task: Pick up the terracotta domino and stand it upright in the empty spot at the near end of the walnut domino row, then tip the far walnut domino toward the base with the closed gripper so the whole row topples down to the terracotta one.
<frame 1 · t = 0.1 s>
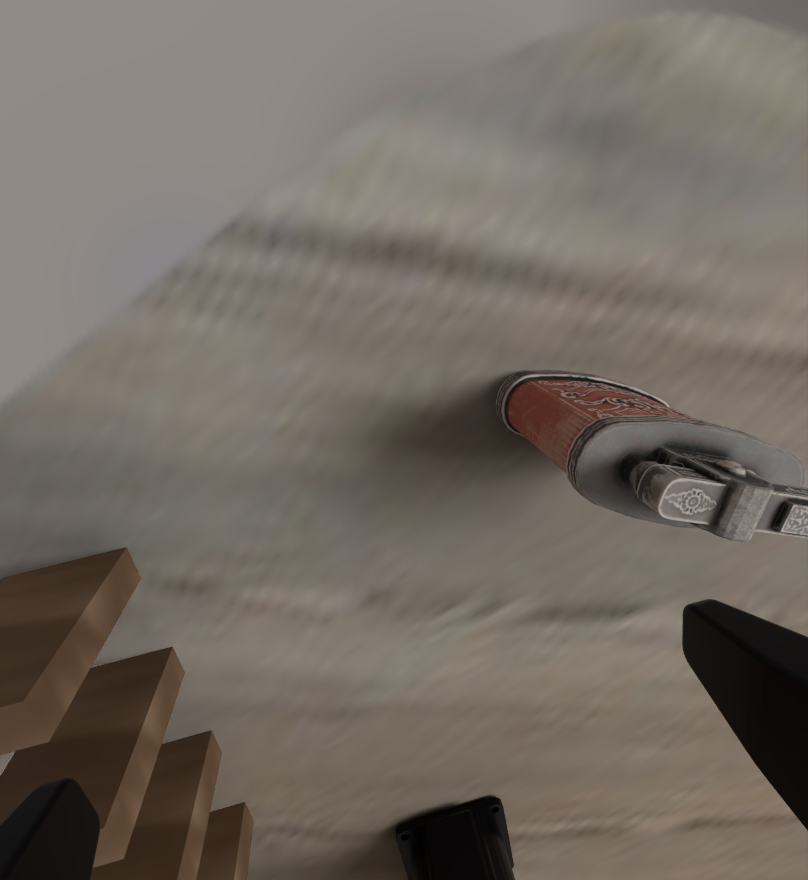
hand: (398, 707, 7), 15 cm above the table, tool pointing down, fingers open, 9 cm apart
domino 4: (203, 825, 27), on the table
domino 1: (74, 577, 22), on the table
domino 3: (167, 755, 25), on the table
lighter: (578, 409, 23), on the table
domino 2: (124, 674, 23), on the table
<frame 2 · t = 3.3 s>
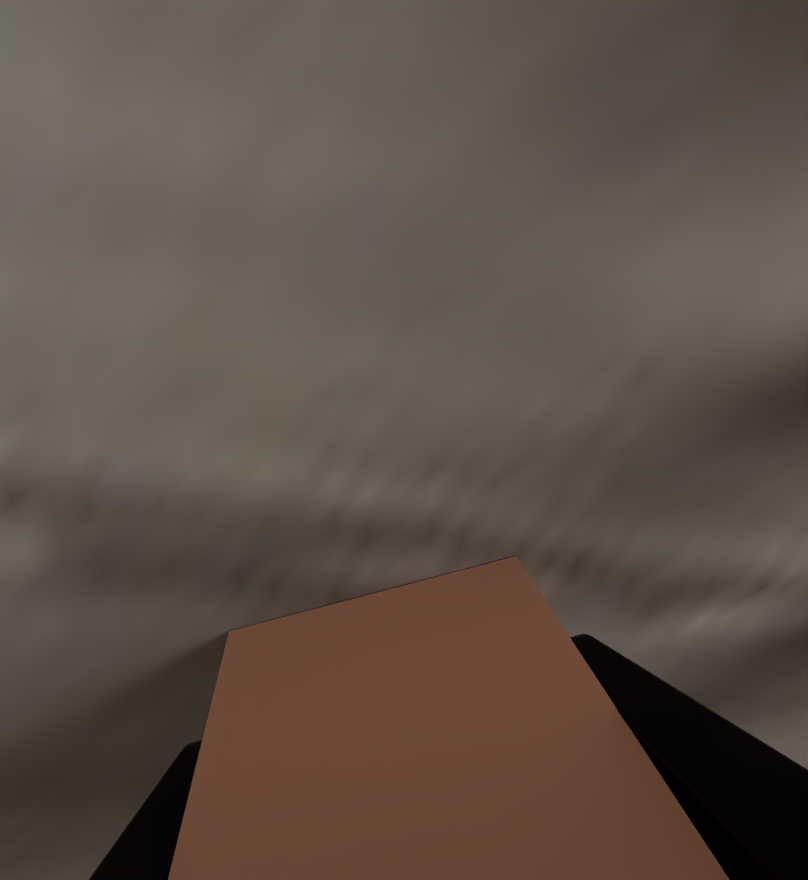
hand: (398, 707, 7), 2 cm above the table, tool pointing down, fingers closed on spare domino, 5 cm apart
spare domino: (385, 629, 9), on the table, touching gripper
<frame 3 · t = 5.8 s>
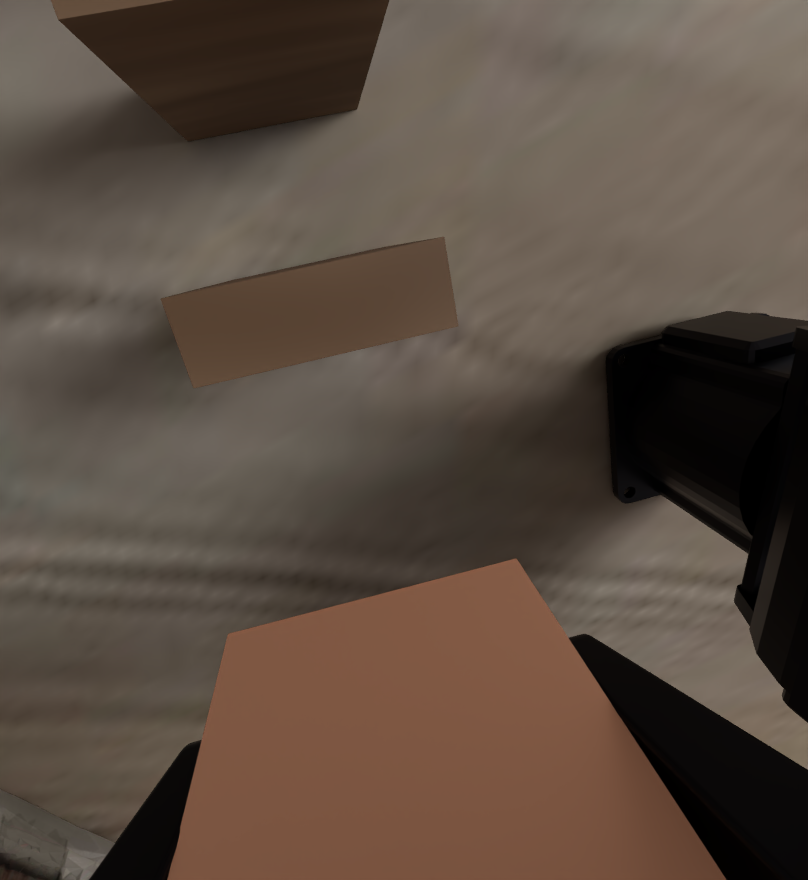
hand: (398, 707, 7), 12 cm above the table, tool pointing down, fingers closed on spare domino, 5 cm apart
domino 4: (315, 288, 16), on the table
domino 3: (265, 93, 14), on the table
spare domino: (385, 632, 9), point 10 cm above the table, touching gripper
when the fingers open (3 cm above the table, at t = 8.5 s): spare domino drops 1 cm, on the table.
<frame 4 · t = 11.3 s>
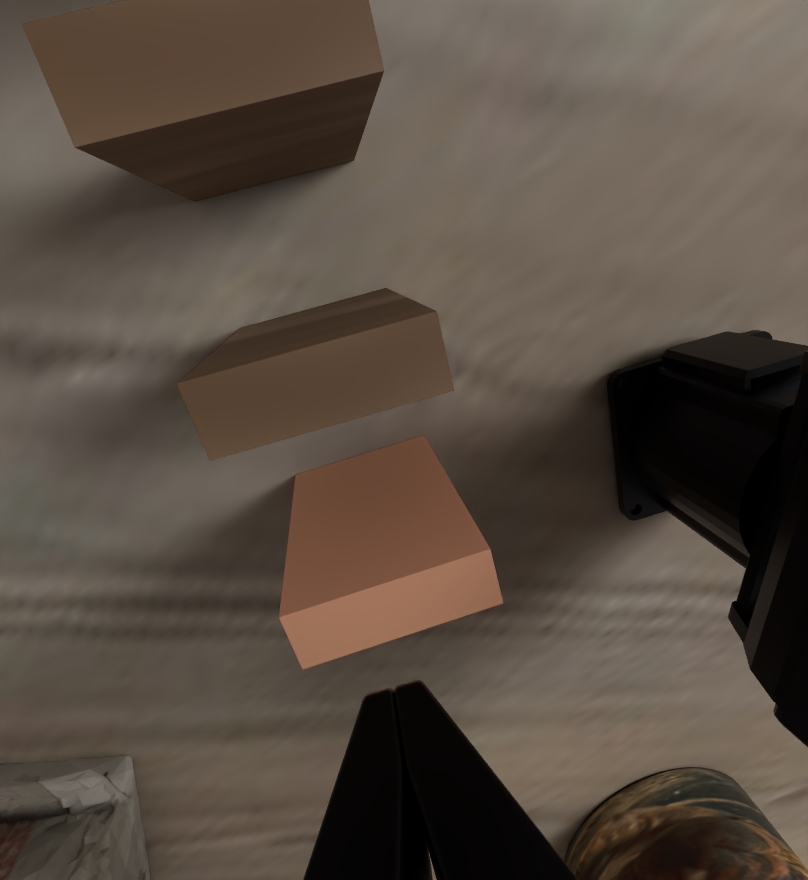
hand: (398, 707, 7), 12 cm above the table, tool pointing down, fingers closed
domino 4: (321, 331, 17), on the table
jar: (653, 836, 30), on the table
domino 3: (266, 151, 15), on the table
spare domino: (366, 473, 19), on the table
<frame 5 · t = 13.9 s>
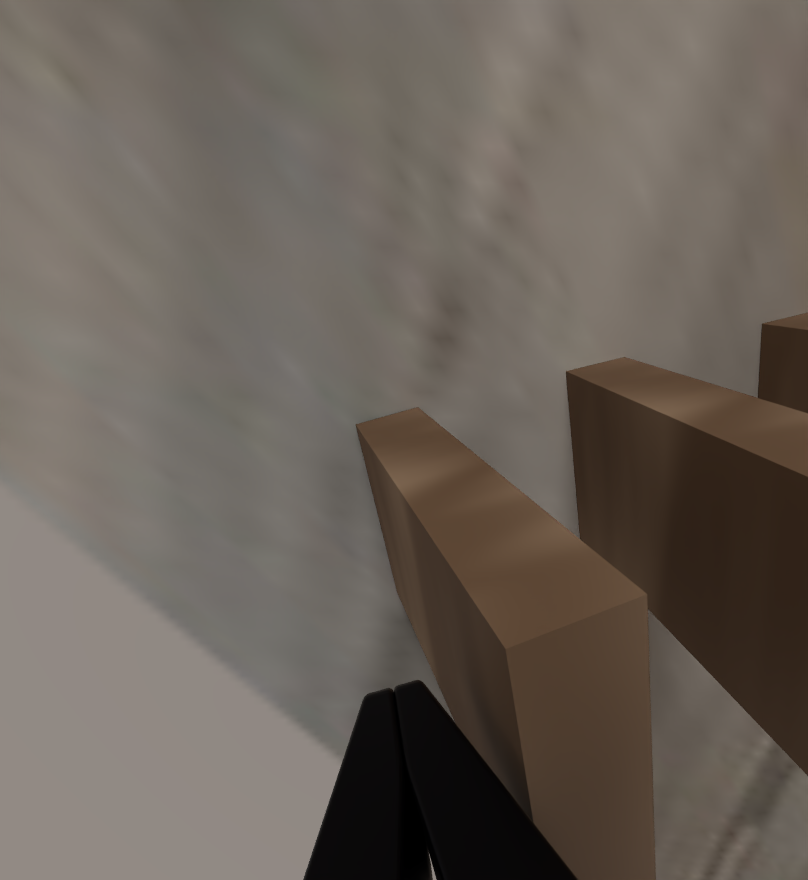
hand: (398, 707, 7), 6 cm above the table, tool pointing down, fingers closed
domino 1: (406, 504, 13), on the table, tilted 6°, touching gripper
domino 3: (782, 405, 14), on the table
domino 2: (600, 452, 14), on the table
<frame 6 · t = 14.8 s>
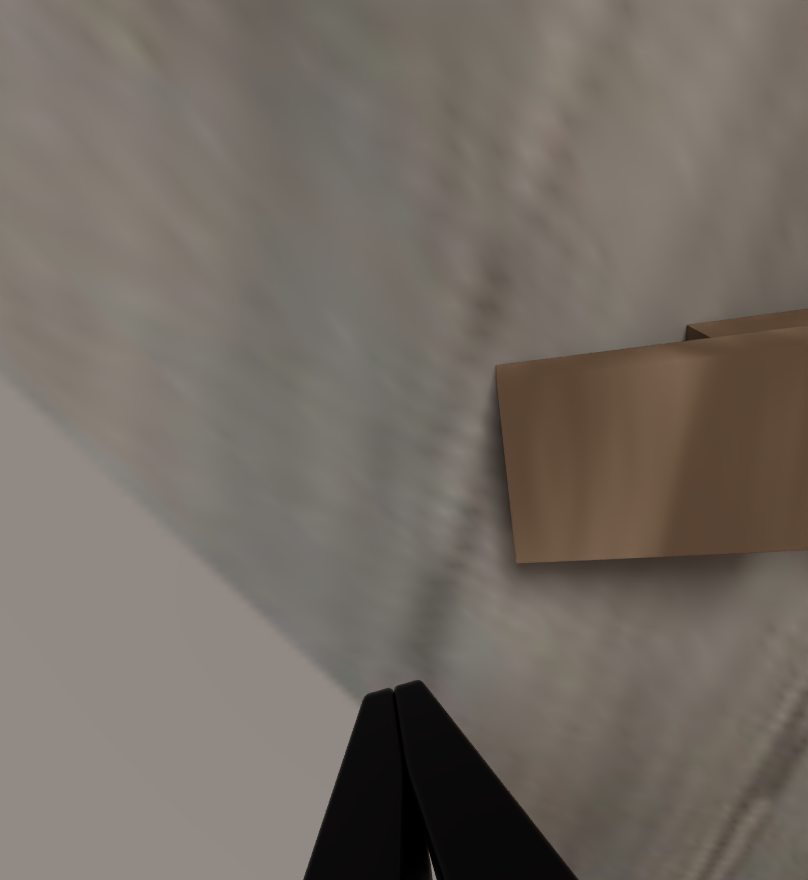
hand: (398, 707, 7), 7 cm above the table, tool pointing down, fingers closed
domino 1: (506, 465, 13), point 1 cm above the table, tilted 73°, touching domino 2
domino 2: (694, 423, 14), point 1 cm above the table, tilted 73°, touching domino 1, domino 3
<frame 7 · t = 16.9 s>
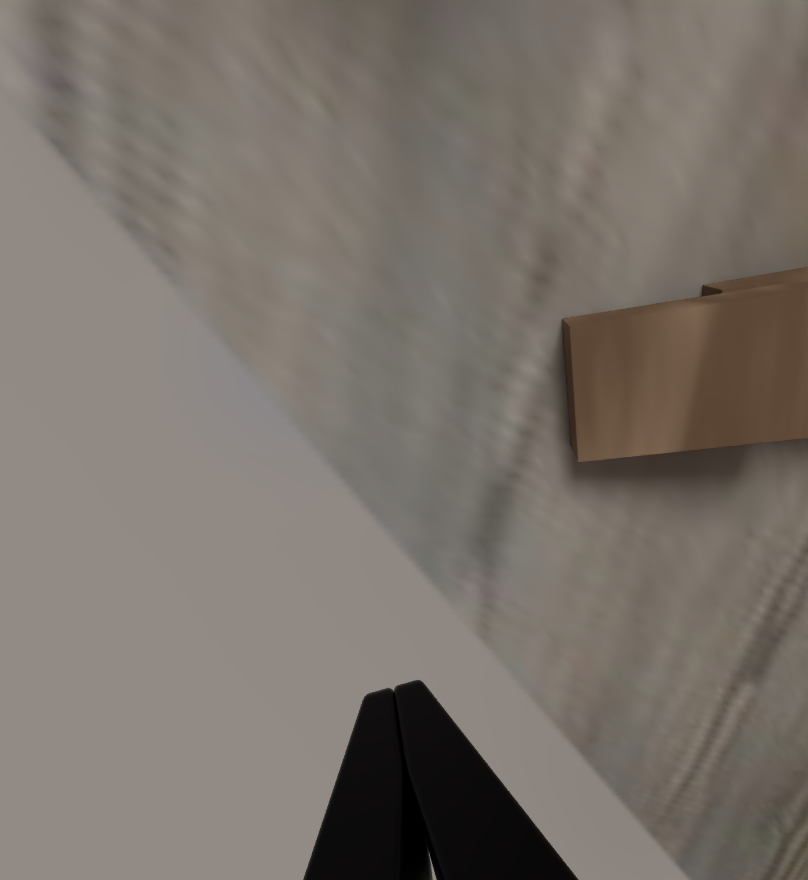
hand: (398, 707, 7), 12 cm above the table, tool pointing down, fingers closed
domino 1: (570, 391, 18), point 1 cm above the table, tilted 73°, touching domino 2
domino 2: (710, 356, 19), point 1 cm above the table, tilted 74°, touching domino 1, domino 3
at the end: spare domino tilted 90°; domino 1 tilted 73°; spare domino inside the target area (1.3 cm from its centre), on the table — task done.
